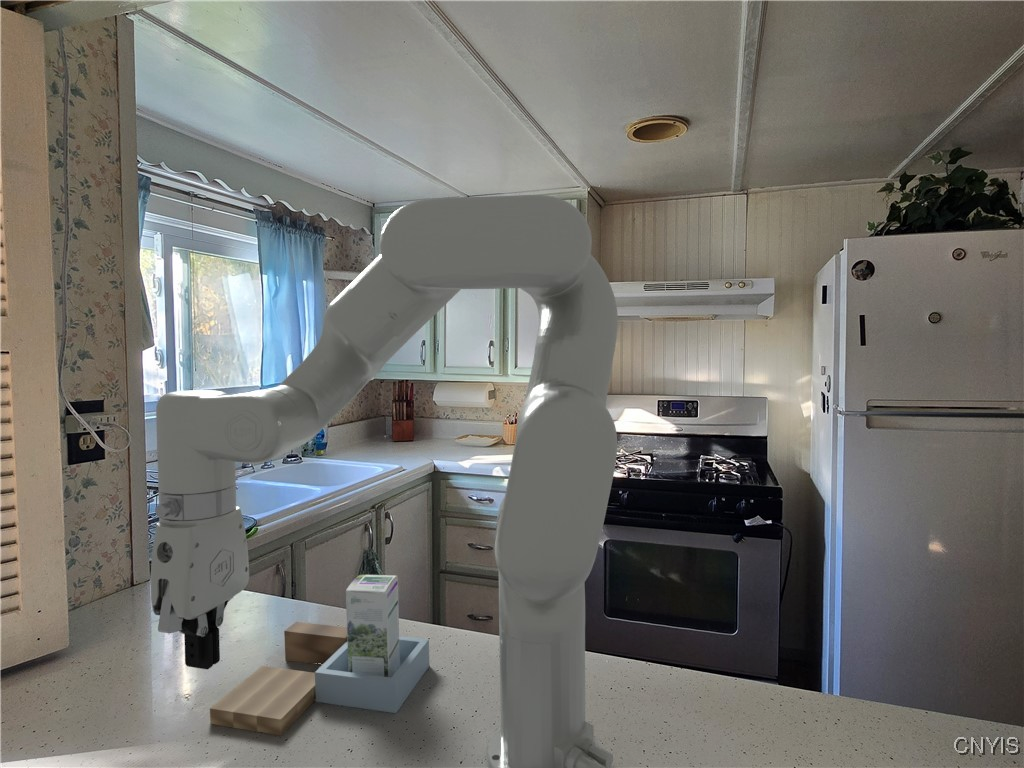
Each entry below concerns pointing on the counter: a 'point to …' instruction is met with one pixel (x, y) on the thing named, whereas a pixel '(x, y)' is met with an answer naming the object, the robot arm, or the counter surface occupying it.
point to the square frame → (372, 679)
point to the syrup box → (373, 625)
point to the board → (266, 701)
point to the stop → (313, 642)
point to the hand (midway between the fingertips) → (202, 663)
